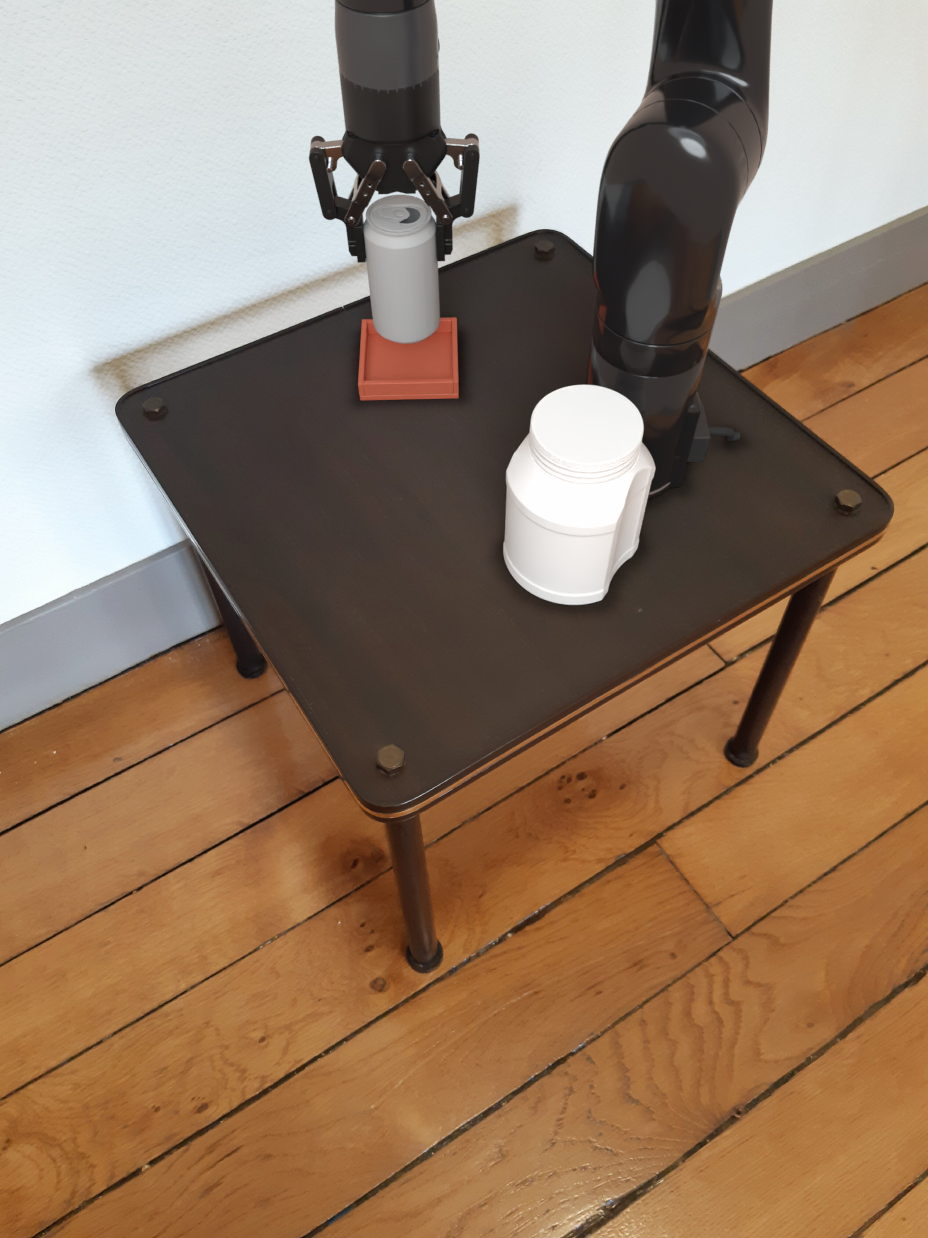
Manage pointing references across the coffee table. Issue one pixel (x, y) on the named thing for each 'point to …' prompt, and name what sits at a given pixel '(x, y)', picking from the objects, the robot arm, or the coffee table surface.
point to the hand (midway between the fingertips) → (401, 255)
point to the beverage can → (402, 268)
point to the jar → (576, 494)
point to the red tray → (409, 365)
